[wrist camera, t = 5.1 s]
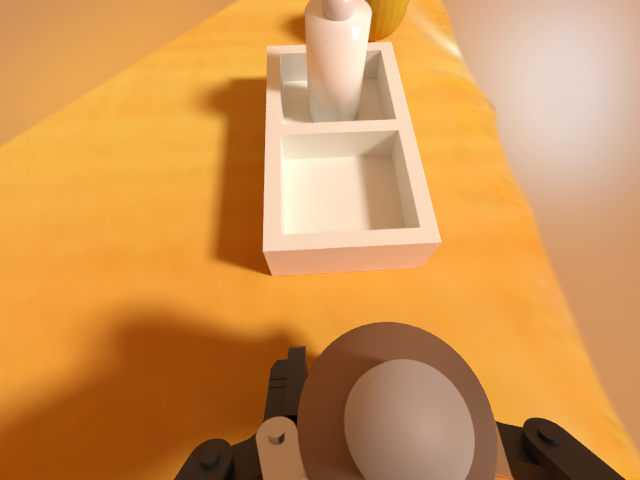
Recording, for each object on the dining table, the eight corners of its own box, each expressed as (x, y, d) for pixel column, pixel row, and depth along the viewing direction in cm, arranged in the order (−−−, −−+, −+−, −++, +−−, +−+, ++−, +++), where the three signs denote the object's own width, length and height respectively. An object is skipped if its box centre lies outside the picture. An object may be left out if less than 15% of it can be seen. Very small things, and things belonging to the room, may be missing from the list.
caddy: (421, 268, 22) (441, 242, 18) (272, 276, 21) (262, 251, 18) (382, 85, 29) (391, 41, 26) (273, 89, 29) (267, 46, 26)
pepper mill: (294, 407, 18) (244, 431, 6) (346, 348, 19) (390, 271, 7) (353, 473, 17) (441, 672, 5) (404, 404, 18) (572, 421, 6)
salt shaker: (298, 112, 26) (288, -13, 18) (331, 86, 27) (336, -40, 19) (335, 138, 25) (343, 17, 17) (368, 110, 26) (389, -15, 18)
